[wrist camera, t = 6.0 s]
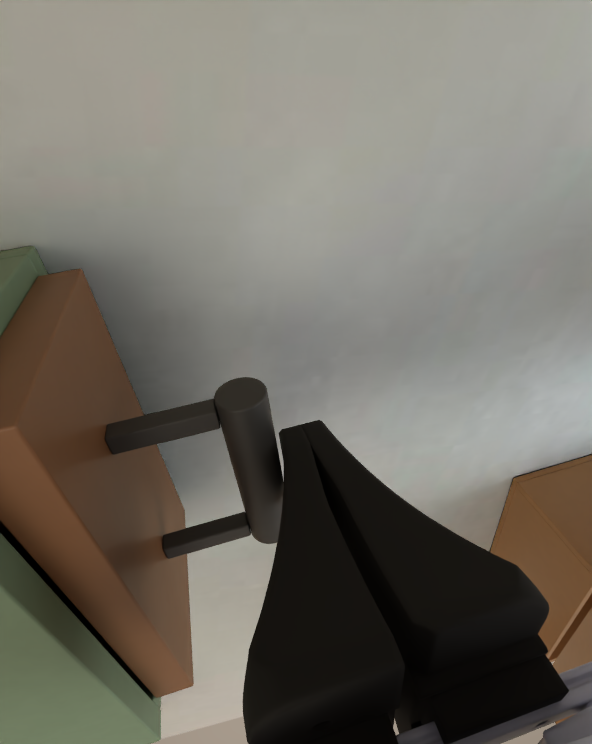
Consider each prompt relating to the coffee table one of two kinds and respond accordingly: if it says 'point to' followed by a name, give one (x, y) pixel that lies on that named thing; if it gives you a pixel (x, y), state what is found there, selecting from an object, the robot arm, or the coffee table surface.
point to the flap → (576, 649)
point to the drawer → (116, 479)
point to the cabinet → (57, 631)
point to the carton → (552, 543)
